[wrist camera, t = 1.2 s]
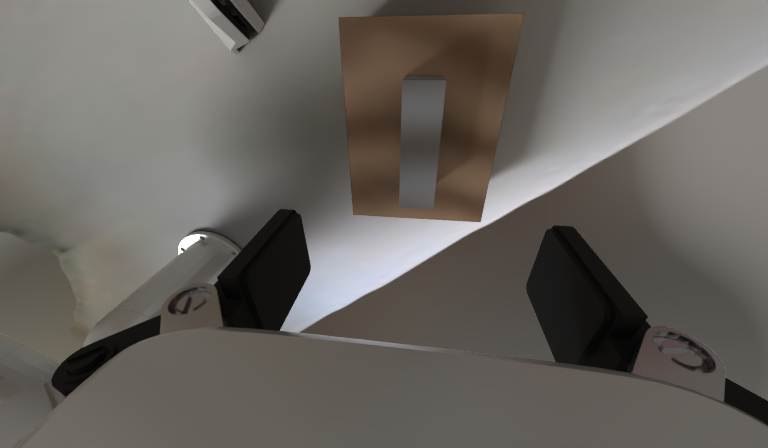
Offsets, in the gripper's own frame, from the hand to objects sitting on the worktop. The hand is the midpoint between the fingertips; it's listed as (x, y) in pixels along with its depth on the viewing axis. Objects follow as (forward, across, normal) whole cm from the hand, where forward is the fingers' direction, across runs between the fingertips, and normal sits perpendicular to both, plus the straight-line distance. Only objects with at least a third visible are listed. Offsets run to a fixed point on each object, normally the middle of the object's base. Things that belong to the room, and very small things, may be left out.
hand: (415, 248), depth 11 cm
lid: (+19, 0, 0) cm, 19 cm away
